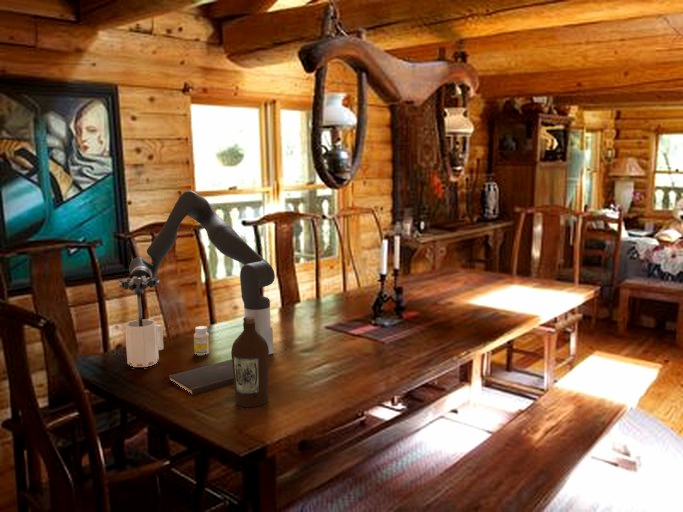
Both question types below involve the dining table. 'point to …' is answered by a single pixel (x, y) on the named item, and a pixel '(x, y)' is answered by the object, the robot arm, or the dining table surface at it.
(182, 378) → the hardcover book
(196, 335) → the supplement bottle
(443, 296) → the dining table surface
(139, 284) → the plunger
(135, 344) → the octagonal white mug
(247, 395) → the olive oil
